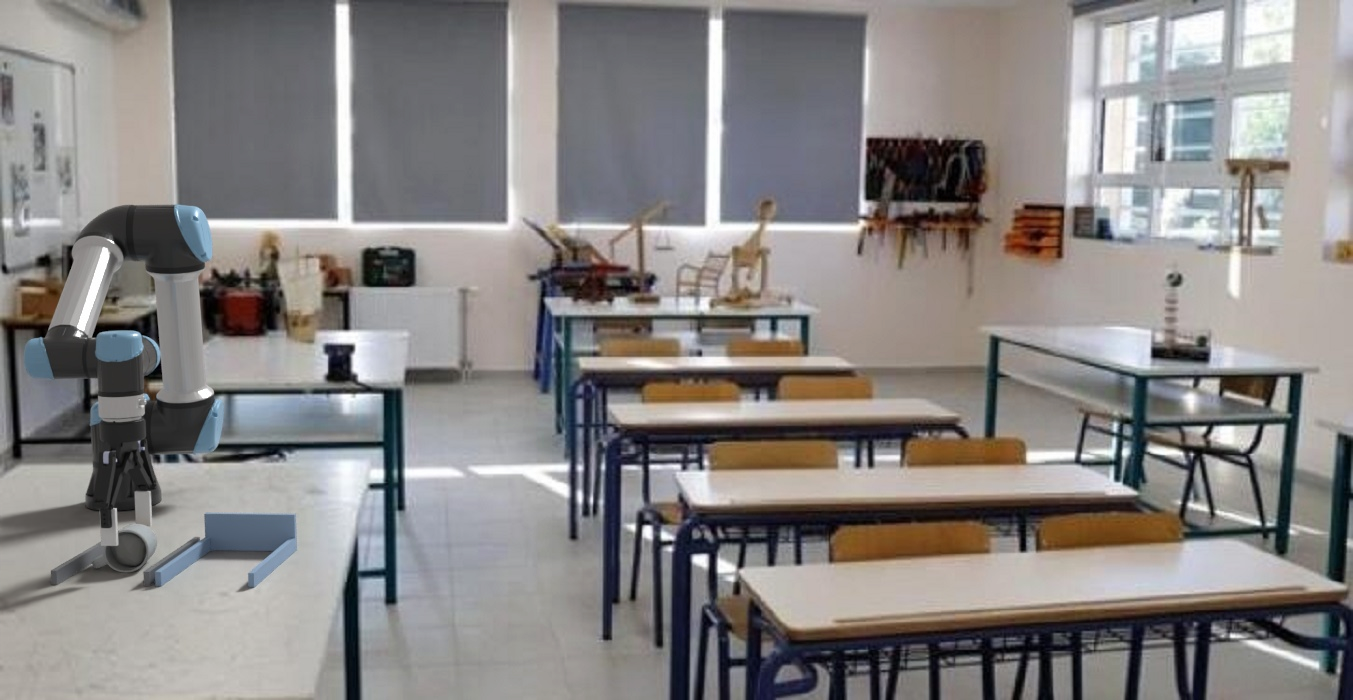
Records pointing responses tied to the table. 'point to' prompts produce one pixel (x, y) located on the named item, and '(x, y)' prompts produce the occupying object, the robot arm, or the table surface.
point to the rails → (97, 550)
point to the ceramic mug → (129, 549)
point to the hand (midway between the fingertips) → (127, 535)
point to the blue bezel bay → (240, 542)
